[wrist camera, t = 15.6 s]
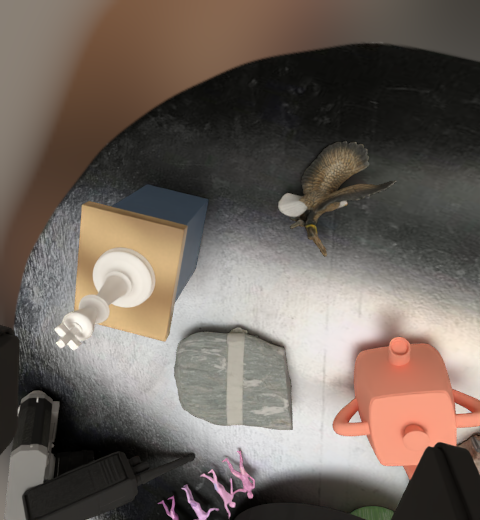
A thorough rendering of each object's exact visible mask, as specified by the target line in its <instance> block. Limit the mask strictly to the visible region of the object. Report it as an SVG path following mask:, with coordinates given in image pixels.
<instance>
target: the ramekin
mask: <svg viewBox="0 0 480 520" xmlns="http://www.w3.org/2000/svg"><path fill="white" fill-rule="evenodd" d="M350 514H352V515H355V516H358V517H361V518H363V519H366V520H391V518H392V516H393V514H394V512H393V511H392V510H389V509H387V508H384V507H379V506H366V507H362V508H359V509H356V510H354V511H353V512H351V513H350Z"/></svg>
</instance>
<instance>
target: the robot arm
mask: <svg viewBox="0 0 480 520" xmlns="http://www.w3.org/2000/svg"><path fill="white" fill-rule="evenodd" d="M18 379H19V338H18V337H17V336H14V332H13V330H12V329H11V328H9V327H5V326H1V325H0V454H1V453H2V452H3V451H4V450H5V449H6V447H7V446H8V445H9V444H10V443H11V441H12V440H13V438H14V436H15V433H16V430H17V425H18ZM391 520H480V474H479V472H478V469H477V467H476V465H475V463H474V460H473V458H472V456H471V454H470V452H469V451H468V450H467V449H465V448H461V447H458V446H454V445H450V444H446V443H442V442H438V443H436V444H435V446H434V447H430V446H428V447H427V448H426V449H425V451H424V453H423V455H422V457H421V459H420V461H419V463H418V465H417V467H416V469H415V471H414V473H413V476H412V478H411V480H410V482H409V484H408V486H407V488H406V490H405V492H404V494H403V496H402V498H401V500H400V502H399V504H398V506H397V508H396V510H395V512H394V514H393V516H392V518H391Z"/></svg>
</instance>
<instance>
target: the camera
mask: <svg viewBox="0 0 480 520" xmlns="http://www.w3.org/2000/svg"><path fill="white" fill-rule="evenodd" d="M59 402H60V401H53V399H51V398H50V397H49V396H47V395H46V394H45V393H44V392H43V391H38V390H37V391H33V392H31V393H29V394H28V395H27V396H26V397H24V398H23V399H21V405H20V406H19V408H18V425H17V430H16V433H15V436H14V440H13V446H12V451H11V457H10V466H9V477H8V486H7V496H6V506H5V516H4V520H26V518H25V512H24V507H23V501H22V495H23V493H24V492H25V491H27V490H29V489H31V488H33V487H35V486H37V485H40V484H43V483H44V482H46V481H48V480H51V479H53V478H55V477H57V476H59V475H61V474H64V473H66V472H68V471H70V470H73V469H75V468H78V467H80V466H82V465H85V464H89V463H90V462H92V461H94V452H93V451H87V450H81V451H77V452H71V451H68V452H61V453H57V455H56V457H55V456H54V454H52V453H51V448H53V447H54V444H52V442H54V439H56V433H57V425H58V422H57V419H58V413H59V406H60V405H59Z"/></svg>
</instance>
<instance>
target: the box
mask: <svg viewBox="0 0 480 520" xmlns="http://www.w3.org/2000/svg"><path fill="white" fill-rule="evenodd" d="M208 201H209V199H205V198H201V197H197V196H193V195H189V194H185V193H181V192H177V191H173V190H169V189H164V188H160V187H156V186H152V185H148V184H147V185H145V186H144V187H142V188H140V189H139V190H137V191H135V192H134V193H132V194H131V195H129V196H127V197H126V198H124V199H122V200H121V201H119V202H118V203H116V204H114V205H113V206H111V207H115V208H119V209H123V210H127V211H131V212H135V213H139V214H143V215H147V216H151V217H155V218H159V219H163V220H167V221H171V222H175V223H179V224H183V225H187V226H188V228H187V234H186V240H185V246H184V251H183V257H182V263H181V269H180V275H179V280H178V286H177V292H176V298H175V302H176V300H177V299H178V297H179V295H180V294H181V292H182V290H183V289H184V287H185V286H186V284H187V282H188V281H189V279H190V277H191V276H192V274H193V272H194V271H195V269H196V265H197V259H198V254H199V249H200V243H201V238H202V233H203V227H204V222H205V217H206V211H207V206H208Z"/></svg>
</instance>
